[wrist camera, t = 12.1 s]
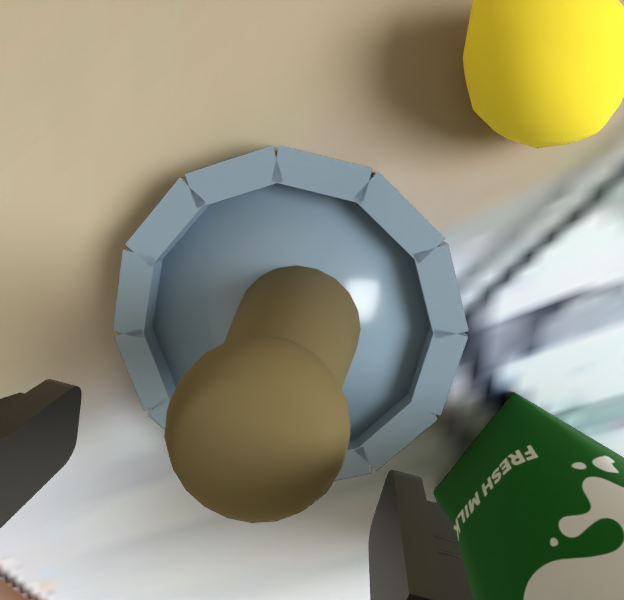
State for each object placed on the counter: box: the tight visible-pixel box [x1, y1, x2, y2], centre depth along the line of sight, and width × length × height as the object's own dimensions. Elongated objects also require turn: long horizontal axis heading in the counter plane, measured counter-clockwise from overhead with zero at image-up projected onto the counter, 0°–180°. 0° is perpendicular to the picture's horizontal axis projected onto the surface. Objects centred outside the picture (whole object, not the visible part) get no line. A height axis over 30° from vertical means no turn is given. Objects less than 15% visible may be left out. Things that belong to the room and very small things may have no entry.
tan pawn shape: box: [164, 265, 361, 523], centre depth 17 cm, size 6×6×11 cm
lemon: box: [463, 0, 624, 148], centre depth 17 cm, size 7×5×5 cm
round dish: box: [113, 145, 468, 481], centre depth 22 cm, size 16×16×2 cm
